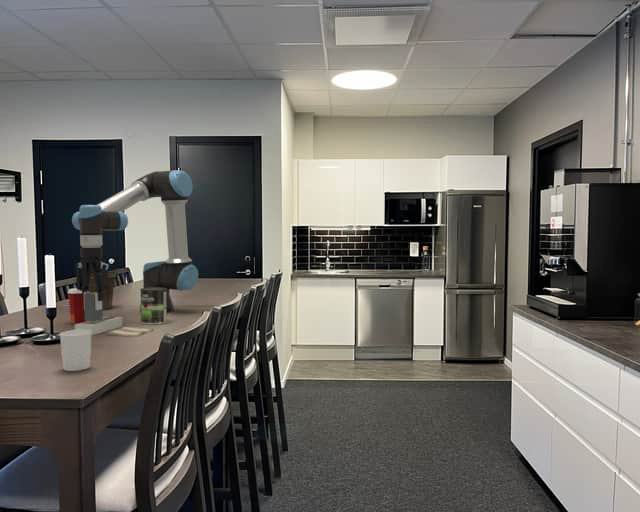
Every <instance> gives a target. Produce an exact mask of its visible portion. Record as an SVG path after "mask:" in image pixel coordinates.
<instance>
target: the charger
mask: <svg viewBox="0 0 640 512" xmlns="http://www.w3.org/2000/svg"><path fill="white" fill-rule="evenodd" d="M84 308H85V321H86V322H88V321H97V320H101V319H103V318H104V310H103V301H102V309H100V310H95V293H94V292H93V293H87V294H84Z"/></svg>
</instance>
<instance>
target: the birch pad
mask: <svg viewBox="0 0 640 512" xmlns="http://www.w3.org/2000/svg"><path fill="white" fill-rule="evenodd" d="M154 329H155V328H154V327H135V326H123V327H119V328H116V329H113V330H110V331H106V332H105V336H113V337H115V336H116V337H128V338H129V337H132V338H136V337H139V336H141V335H145V334H148V333H150V332H153V331H154Z"/></svg>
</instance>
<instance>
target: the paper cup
mask: <svg viewBox="0 0 640 512" xmlns="http://www.w3.org/2000/svg"><path fill="white" fill-rule="evenodd" d="M67 294H68V303H69V315H70V324H71V325H75V324H79V323H83V322H87V321H85V310H84V300H83V299H82V291H80V290H77V287H74V288H70V289H68V291H67Z"/></svg>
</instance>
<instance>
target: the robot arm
mask: <svg viewBox="0 0 640 512" xmlns="http://www.w3.org/2000/svg"><path fill="white" fill-rule="evenodd" d="M192 192H193V180H192V178H191V177H190V175H189V174H188V173H187V172H185V171H183V170H179V169H178V170H175V169H174V170H161V171H157V170H156V171H152V172H150V173H148V174H145V175H143V176H141V177H140V178H137V179H136V180H134V181H132V182H131V184H130V186H128V187H126V188H125V189H122V190H121V191H120V192H117V193H116V194H114V195H112V196H111V197H108V198H107V199H104V200H103V201H102V202H99V203H97V204H82V205H80V207H79V211H76V212H75V213H73V215H72V217H71V222H72V225H73V227H74V228H75V229H76V230H79V238H80V239H79V241H80V242H79V243H80V246H81V248H80V249H79V250H80V252H79V253H80V258H81V260H80V262H78V263H74V268H75V275H76V276H75V277H76V288H77V290H80V291H82V299H83V300H84V294H87V293H90V291H89V283H90V277H91V274H93V275H94V280H95V284H96V289H97V291H96V293H95V310H100V309H102V301H103V292H104V291H106V290H108V274H109V269H110V263H105V262H104V261H103V256H104V255H103V253H104V252H103V251H104V250H103V248H102V246H103V231H106V232H107V231H109V232H110V231H113V232H114V231H115V232H117V231H124V230H125V229H126V228H127V227H128V224H129V218H128V215H127V214H126V213H125V212H124V211H126V210H128V209H129V208H131V207H133V206H134V205H136V204H139V203H140V202H145V201H147V200H149V199H153V198H160V200H161V201H160V202H161V203H162V204H163V205H164V207H165V208H164V210H165V224H166V235H167V237H166V239H167V251H168V259H166V260H164V261H161V260H160V261H153V262H146V263H144V265H143V267H142V268H143V269H142V282H143V288H148V287H162V288H167V290H166V313H169V312H173V311H174V310H175V309H174V303H173V300H172V298H171V293H170V291H171V290H175V291H188V290H189V291H190V290H192V289H193V288H194V287H195V285H196V284H197V282H198V279H199V270H198V267H196V266H195V265H194V264H193V260H192V259H191V258H190V257H189V249H188V235H187V219H186V203H187V202H188V201H189V196H191V194H192ZM84 310H85V308H84ZM139 312H140V313H141V304H140V306H139Z"/></svg>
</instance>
